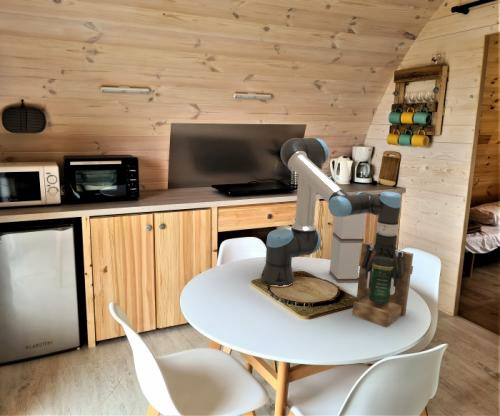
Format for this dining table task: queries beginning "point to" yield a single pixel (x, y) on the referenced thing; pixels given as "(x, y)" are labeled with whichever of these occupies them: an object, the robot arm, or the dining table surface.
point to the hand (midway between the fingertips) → (380, 290)
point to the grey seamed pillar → (347, 247)
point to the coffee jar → (381, 279)
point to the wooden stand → (398, 300)
